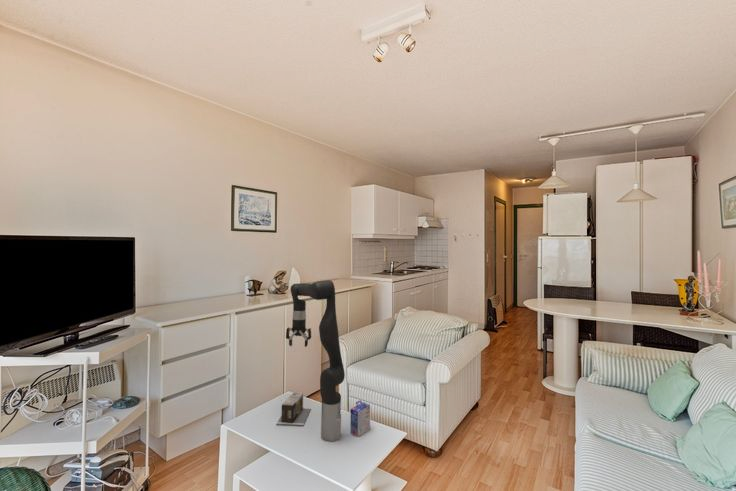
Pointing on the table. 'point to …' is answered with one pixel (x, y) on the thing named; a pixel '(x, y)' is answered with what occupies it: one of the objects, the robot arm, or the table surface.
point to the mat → (297, 419)
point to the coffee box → (292, 407)
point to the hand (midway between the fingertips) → (298, 346)
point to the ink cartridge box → (360, 418)
